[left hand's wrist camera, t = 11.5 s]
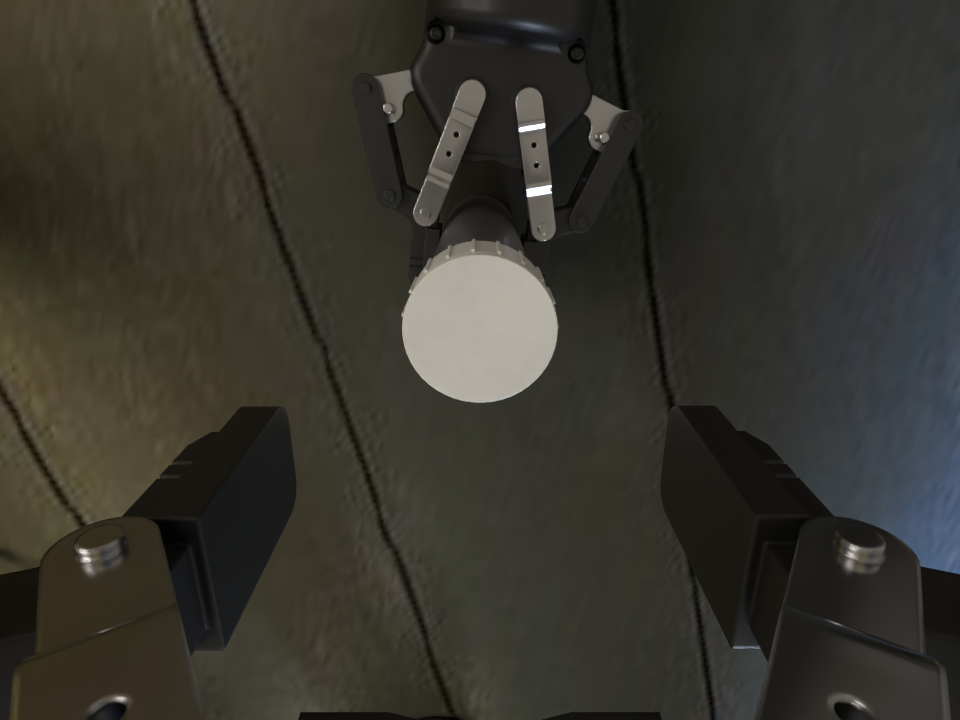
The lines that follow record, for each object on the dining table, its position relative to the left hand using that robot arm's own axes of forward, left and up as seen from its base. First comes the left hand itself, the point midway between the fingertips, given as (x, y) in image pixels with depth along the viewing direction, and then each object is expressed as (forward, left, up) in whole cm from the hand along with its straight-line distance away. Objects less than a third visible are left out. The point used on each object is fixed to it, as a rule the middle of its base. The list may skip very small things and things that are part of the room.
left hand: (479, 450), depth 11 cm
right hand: (-2, -2, -21) cm, 21 cm away
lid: (0, 0, -8) cm, 8 cm away
